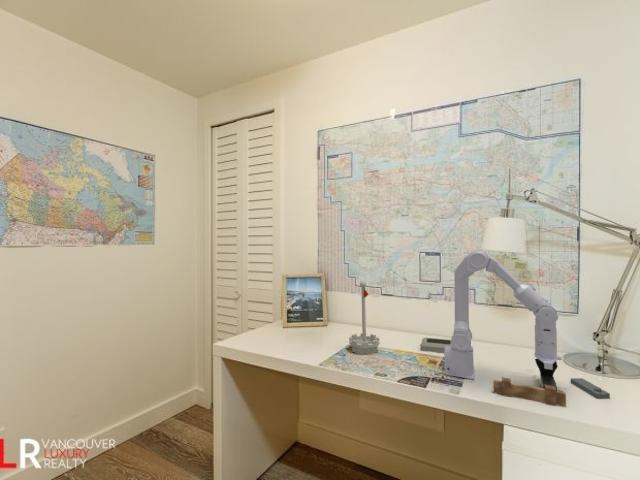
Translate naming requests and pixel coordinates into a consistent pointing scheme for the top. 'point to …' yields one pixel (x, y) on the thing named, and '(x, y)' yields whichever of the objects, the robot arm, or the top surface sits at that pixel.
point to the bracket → (590, 388)
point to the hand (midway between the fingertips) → (546, 383)
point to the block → (547, 381)
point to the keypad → (434, 344)
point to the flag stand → (364, 332)
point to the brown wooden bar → (530, 392)
